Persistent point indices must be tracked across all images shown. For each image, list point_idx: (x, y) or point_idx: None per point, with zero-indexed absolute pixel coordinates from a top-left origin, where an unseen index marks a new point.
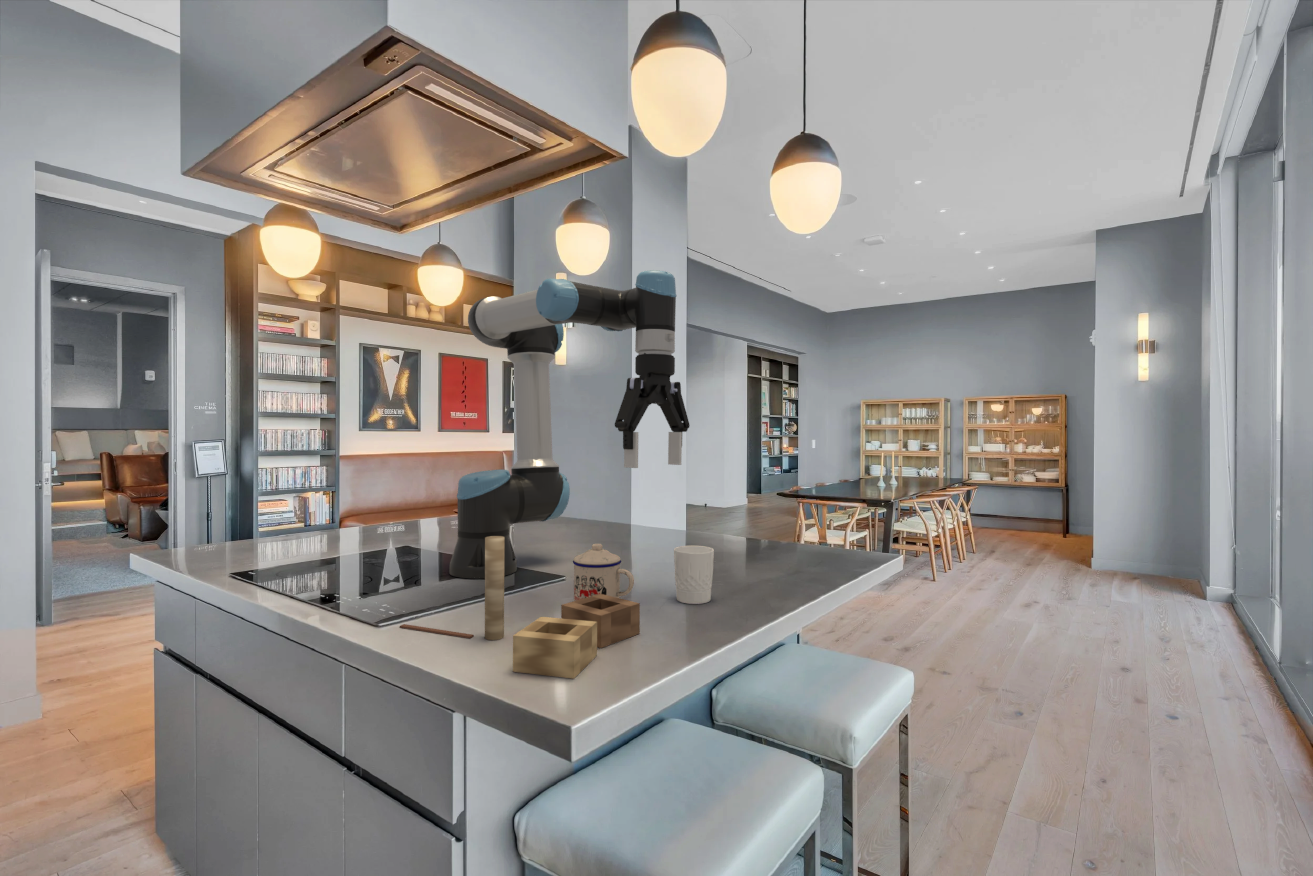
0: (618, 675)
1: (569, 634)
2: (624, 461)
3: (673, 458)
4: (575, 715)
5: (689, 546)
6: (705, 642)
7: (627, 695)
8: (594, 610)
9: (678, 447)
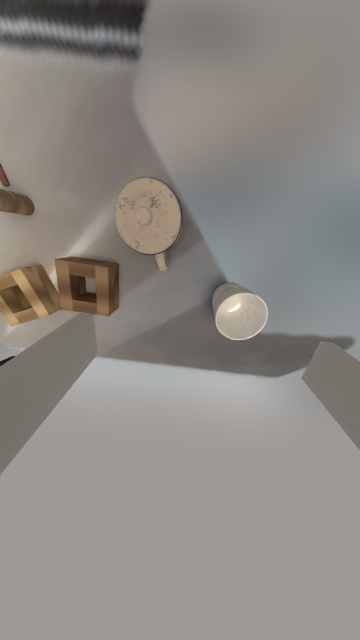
0: None
1: (16, 315)
2: (68, 322)
3: (325, 374)
4: (8, 342)
5: (262, 302)
6: (134, 350)
7: None
8: (66, 296)
9: (347, 429)
